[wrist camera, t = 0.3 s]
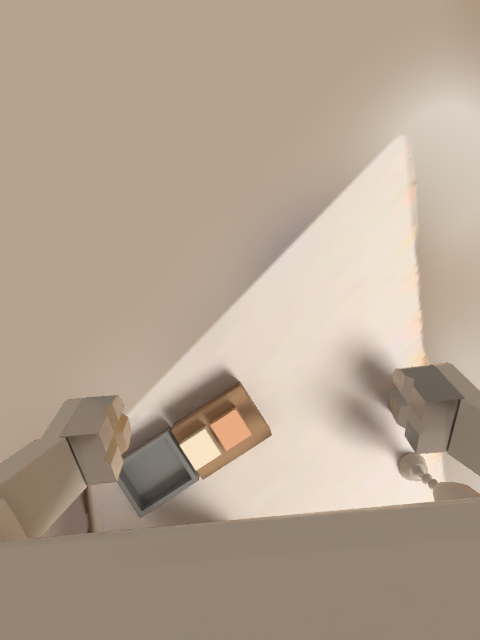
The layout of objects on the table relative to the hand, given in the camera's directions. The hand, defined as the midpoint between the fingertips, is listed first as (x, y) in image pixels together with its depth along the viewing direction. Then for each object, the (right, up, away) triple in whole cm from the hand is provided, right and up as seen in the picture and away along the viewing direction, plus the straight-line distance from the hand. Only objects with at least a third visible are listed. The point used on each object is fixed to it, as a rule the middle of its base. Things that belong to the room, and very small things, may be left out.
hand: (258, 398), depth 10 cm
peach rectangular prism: (-2, -16, +48) cm, 51 cm away
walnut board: (-4, -17, +52) cm, 55 cm away
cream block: (-7, -19, +48) cm, 52 cm away
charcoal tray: (-15, -25, +52) cm, 60 cm away
